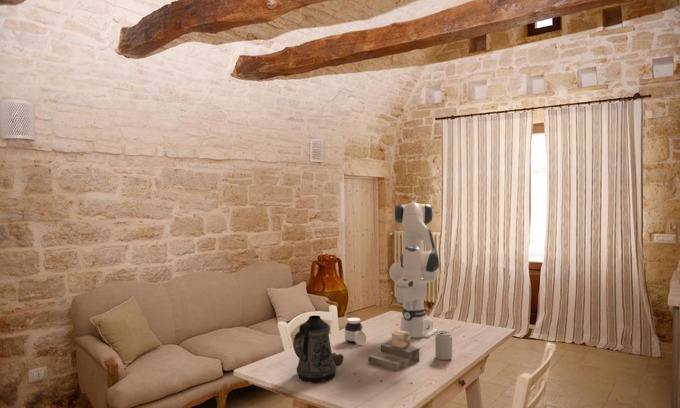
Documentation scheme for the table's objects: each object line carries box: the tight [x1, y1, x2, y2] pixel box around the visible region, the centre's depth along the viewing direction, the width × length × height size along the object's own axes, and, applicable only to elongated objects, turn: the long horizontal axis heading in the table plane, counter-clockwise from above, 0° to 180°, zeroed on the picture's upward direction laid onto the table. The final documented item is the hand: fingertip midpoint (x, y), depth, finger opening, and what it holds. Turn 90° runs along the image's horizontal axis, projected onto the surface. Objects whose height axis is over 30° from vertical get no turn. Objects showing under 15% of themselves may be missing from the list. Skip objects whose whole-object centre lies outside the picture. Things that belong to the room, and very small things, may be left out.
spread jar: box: [344, 317, 367, 346], centre depth 244 cm, size 12×11×12 cm
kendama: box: [332, 352, 344, 367], centre depth 218 cm, size 6×10×20 cm
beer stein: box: [292, 315, 337, 384], centre depth 198 cm, size 16×19×25 cm
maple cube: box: [391, 329, 411, 349], centre depth 219 cm, size 6×6×6 cm
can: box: [434, 330, 453, 361], centre depth 220 cm, size 8×8×12 cm
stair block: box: [367, 340, 420, 372], centre depth 215 cm, size 17×16×6 cm
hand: (412, 309), depth 226 cm, fingers open, 2 cm apart
